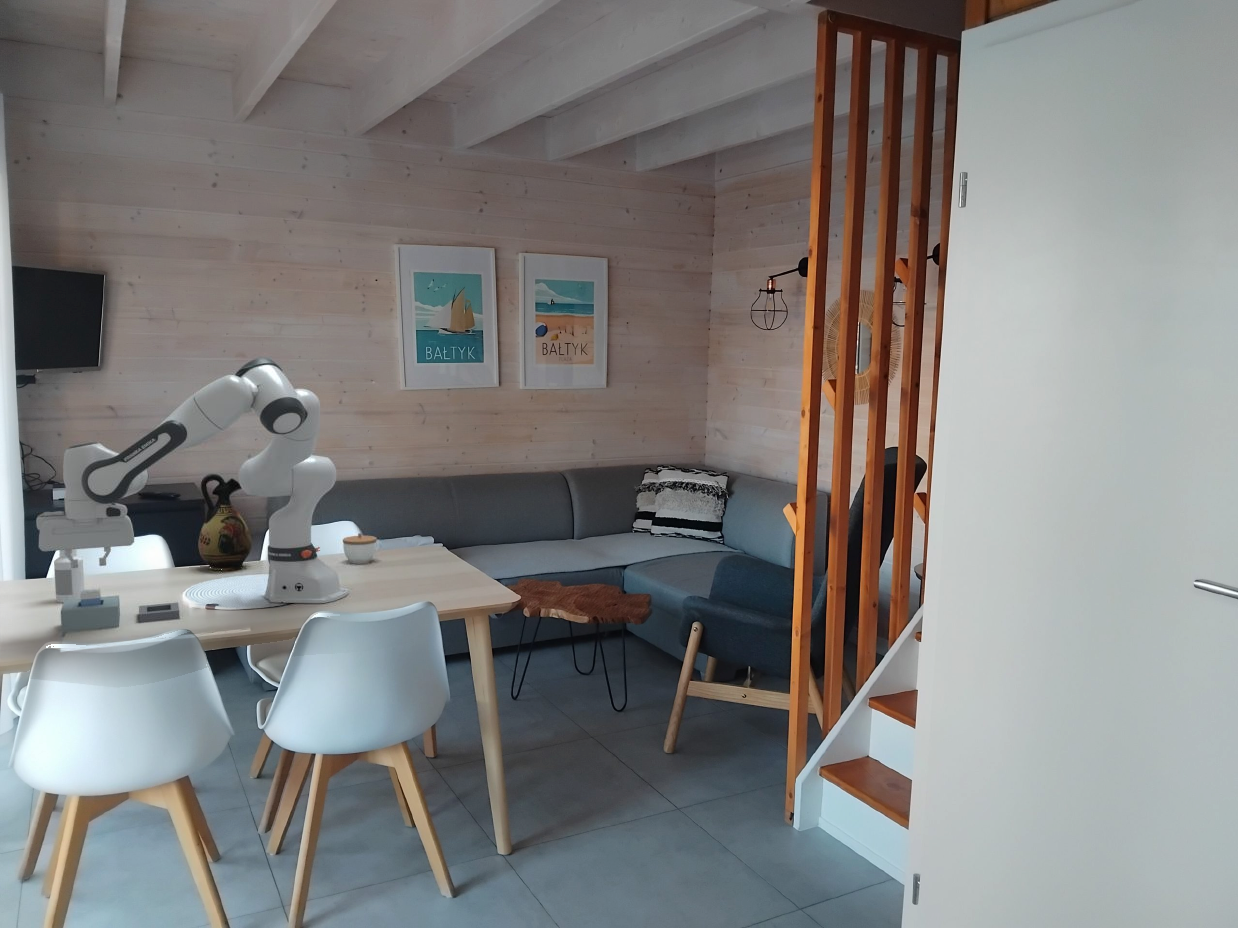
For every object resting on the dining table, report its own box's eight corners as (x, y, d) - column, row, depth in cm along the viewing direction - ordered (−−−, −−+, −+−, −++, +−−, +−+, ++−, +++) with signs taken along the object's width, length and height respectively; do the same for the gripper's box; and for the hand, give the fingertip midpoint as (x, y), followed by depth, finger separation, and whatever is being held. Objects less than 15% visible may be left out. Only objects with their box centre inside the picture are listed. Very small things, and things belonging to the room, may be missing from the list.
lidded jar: (345, 558, 317) (344, 531, 316) (378, 558, 319) (377, 530, 318) (341, 565, 307) (341, 536, 306) (376, 564, 309) (375, 535, 308)
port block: (120, 618, 241) (119, 595, 241) (119, 630, 231) (118, 606, 230) (65, 623, 236) (64, 600, 235) (61, 636, 225) (60, 611, 225)
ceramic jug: (248, 561, 312) (245, 470, 309) (255, 570, 298) (252, 475, 295) (191, 566, 304) (188, 472, 301) (195, 575, 290) (192, 477, 287)
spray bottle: (58, 598, 262) (55, 533, 260) (86, 596, 264) (83, 531, 262) (53, 603, 255) (50, 537, 253) (82, 601, 258) (79, 536, 256)
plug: (102, 624, 236) (100, 588, 235) (101, 628, 232) (99, 592, 231) (83, 626, 234) (81, 590, 233) (82, 630, 231) (80, 593, 230)
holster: (178, 613, 246) (178, 602, 246) (179, 622, 238) (179, 610, 238) (139, 617, 242) (139, 605, 242) (139, 626, 234) (138, 614, 234)
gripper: (34, 514, 223) (37, 572, 224) (132, 509, 232) (135, 565, 233) (37, 510, 229) (40, 567, 230) (133, 505, 238) (135, 560, 239)
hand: (88, 566), depth 232 cm, fingers open, 5 cm apart
